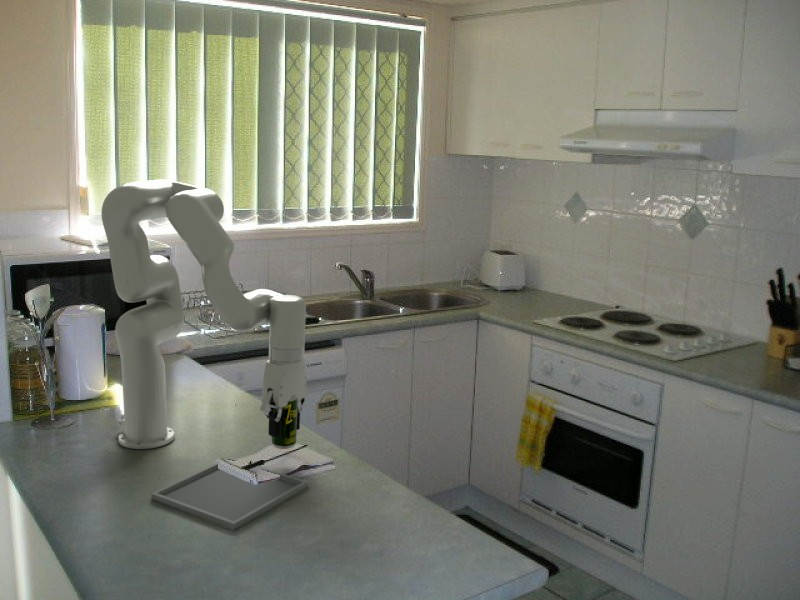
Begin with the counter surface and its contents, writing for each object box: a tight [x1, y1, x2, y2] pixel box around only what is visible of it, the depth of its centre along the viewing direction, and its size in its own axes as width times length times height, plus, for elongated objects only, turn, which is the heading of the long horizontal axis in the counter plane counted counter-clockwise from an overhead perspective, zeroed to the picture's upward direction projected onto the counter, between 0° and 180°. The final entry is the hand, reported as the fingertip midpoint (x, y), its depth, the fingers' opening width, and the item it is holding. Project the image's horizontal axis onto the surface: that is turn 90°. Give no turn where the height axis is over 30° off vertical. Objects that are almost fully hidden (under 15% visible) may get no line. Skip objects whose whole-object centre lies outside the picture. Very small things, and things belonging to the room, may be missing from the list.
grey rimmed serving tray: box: [150, 456, 309, 532], centre depth 167 cm, size 22×22×2 cm
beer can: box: [271, 395, 298, 450], centre depth 181 cm, size 5×5×12 cm
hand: (284, 431), depth 181 cm, fingers closed on beer can, 5 cm apart
